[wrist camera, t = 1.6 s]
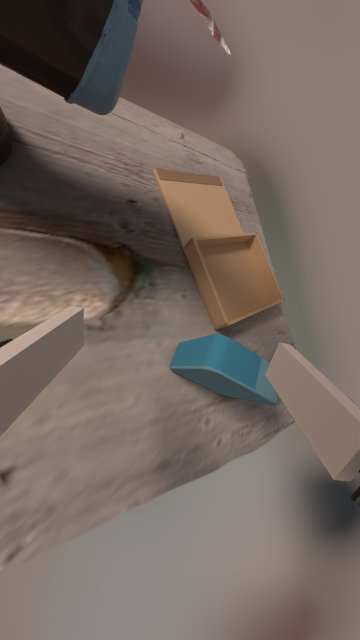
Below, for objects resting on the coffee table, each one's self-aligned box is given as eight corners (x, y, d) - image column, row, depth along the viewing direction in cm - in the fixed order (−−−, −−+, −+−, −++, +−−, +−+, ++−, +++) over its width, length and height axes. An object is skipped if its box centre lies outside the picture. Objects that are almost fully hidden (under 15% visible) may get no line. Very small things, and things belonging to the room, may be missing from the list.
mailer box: (152, 170, 38) (158, 153, 35) (219, 179, 48) (229, 166, 44) (214, 329, 36) (227, 326, 33) (271, 305, 46) (285, 300, 43)
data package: (227, 371, 36) (288, 373, 25) (221, 395, 34) (283, 407, 23) (176, 342, 32) (221, 331, 22) (165, 368, 30) (209, 368, 20)
